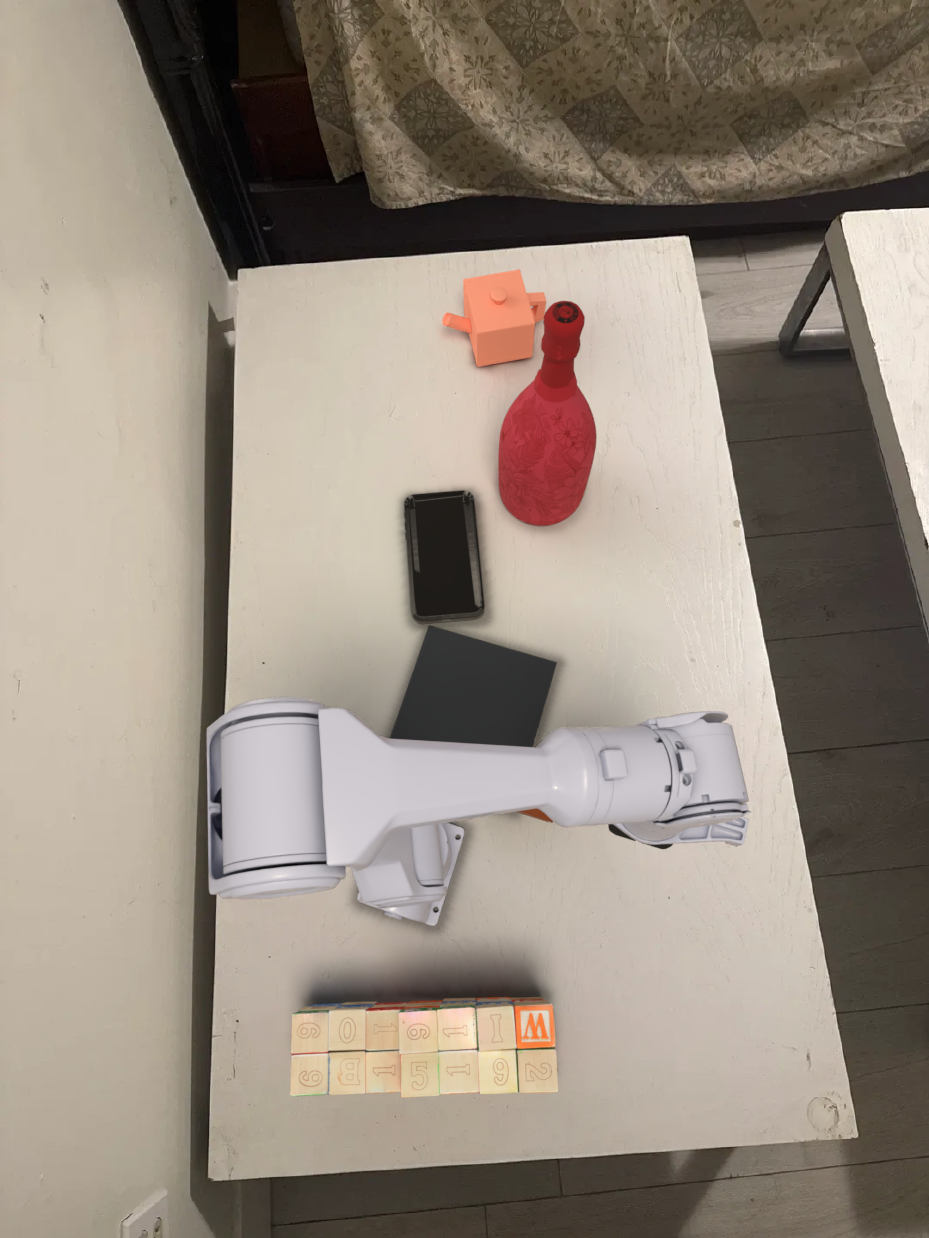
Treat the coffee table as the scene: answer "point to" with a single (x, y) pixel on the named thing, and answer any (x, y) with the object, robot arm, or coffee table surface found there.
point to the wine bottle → (549, 430)
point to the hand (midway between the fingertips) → (632, 818)
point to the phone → (443, 557)
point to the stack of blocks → (425, 1047)
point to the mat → (473, 693)
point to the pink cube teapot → (499, 317)
